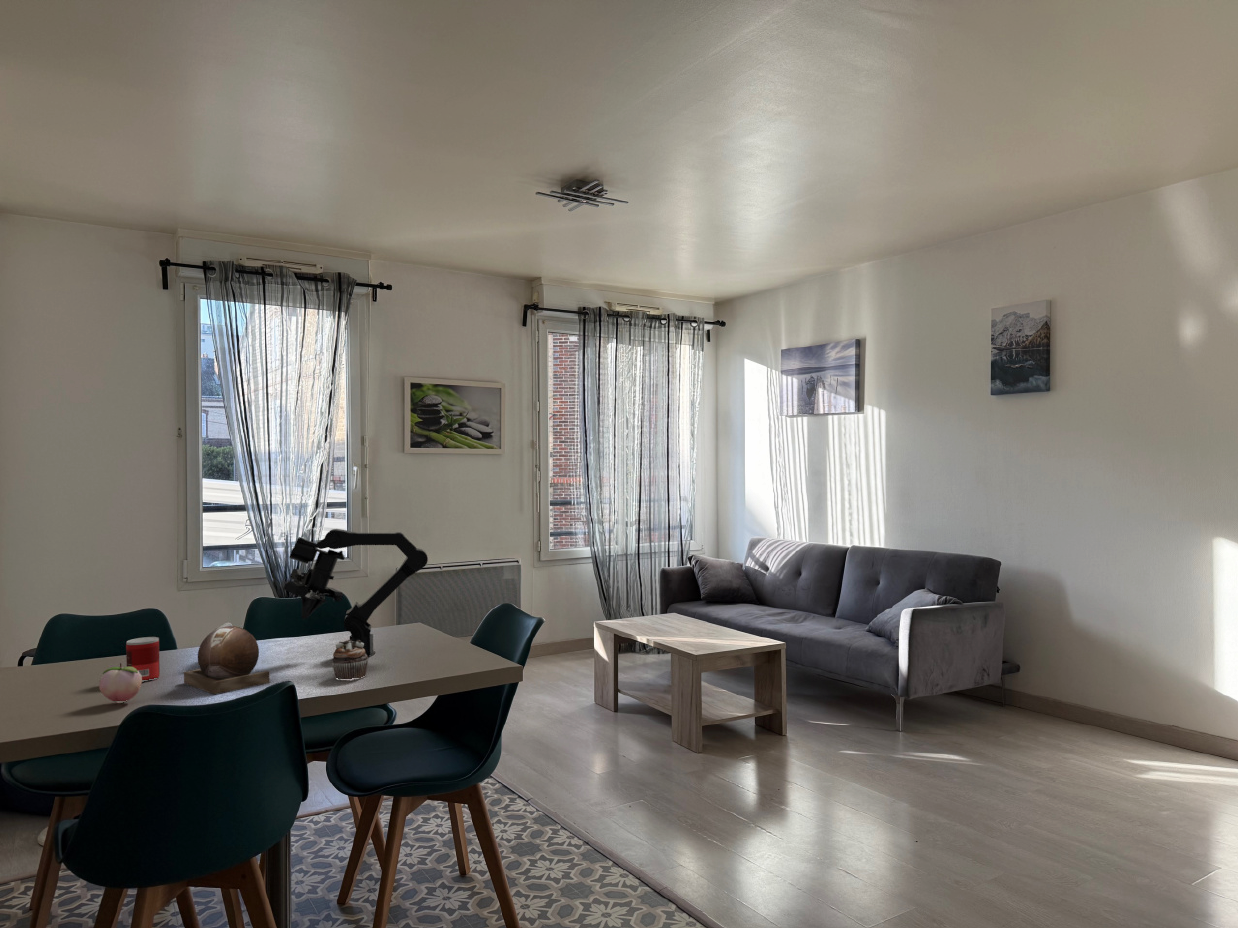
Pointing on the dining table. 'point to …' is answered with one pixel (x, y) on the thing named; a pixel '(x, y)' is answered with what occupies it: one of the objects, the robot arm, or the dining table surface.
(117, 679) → the decorative fruit
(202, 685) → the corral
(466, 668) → the dining table surface
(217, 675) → the wooden sphere
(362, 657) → the cupcake
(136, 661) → the canned food
